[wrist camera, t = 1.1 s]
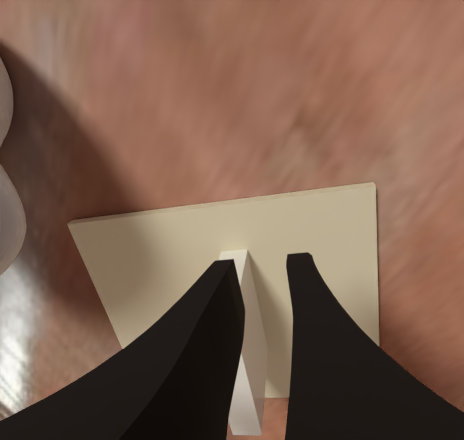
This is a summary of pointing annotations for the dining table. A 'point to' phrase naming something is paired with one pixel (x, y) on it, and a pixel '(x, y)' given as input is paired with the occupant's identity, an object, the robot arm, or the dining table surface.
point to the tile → (248, 356)
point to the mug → (8, 186)
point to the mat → (231, 239)
